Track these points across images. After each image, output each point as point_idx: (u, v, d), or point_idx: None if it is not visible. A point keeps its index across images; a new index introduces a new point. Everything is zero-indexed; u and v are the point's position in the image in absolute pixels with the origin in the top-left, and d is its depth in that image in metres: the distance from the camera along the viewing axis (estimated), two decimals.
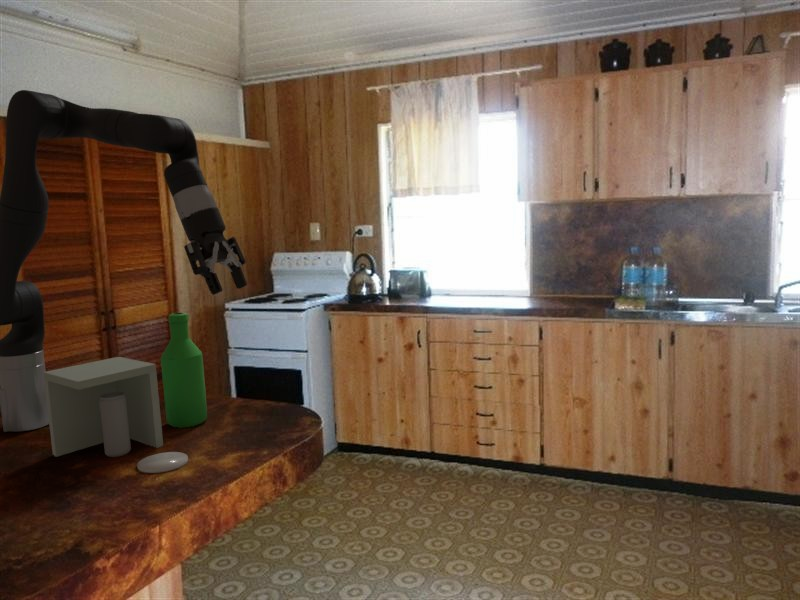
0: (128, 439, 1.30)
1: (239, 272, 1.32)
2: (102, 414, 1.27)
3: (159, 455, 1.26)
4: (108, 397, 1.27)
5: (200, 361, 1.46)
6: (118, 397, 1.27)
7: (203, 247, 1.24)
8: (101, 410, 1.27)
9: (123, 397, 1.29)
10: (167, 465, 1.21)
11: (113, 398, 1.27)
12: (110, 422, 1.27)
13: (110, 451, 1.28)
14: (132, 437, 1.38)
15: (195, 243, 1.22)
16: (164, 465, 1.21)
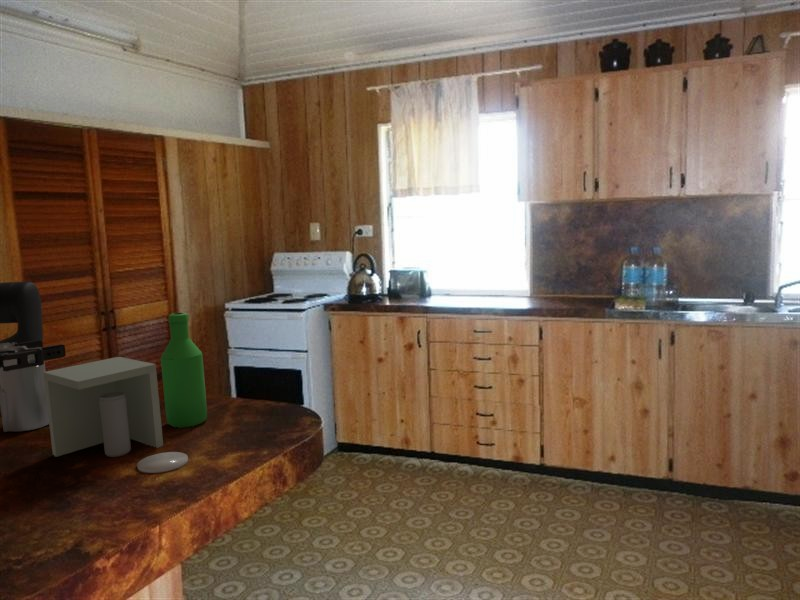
0: (128, 439, 1.30)
1: None
2: (102, 414, 1.27)
3: (159, 455, 1.26)
4: (108, 397, 1.27)
5: (200, 361, 1.46)
6: (118, 397, 1.27)
7: None
8: (101, 410, 1.27)
9: (123, 397, 1.29)
10: (167, 465, 1.21)
11: (113, 398, 1.27)
12: (110, 422, 1.27)
13: (110, 451, 1.28)
14: (132, 437, 1.38)
15: None
16: (164, 465, 1.21)
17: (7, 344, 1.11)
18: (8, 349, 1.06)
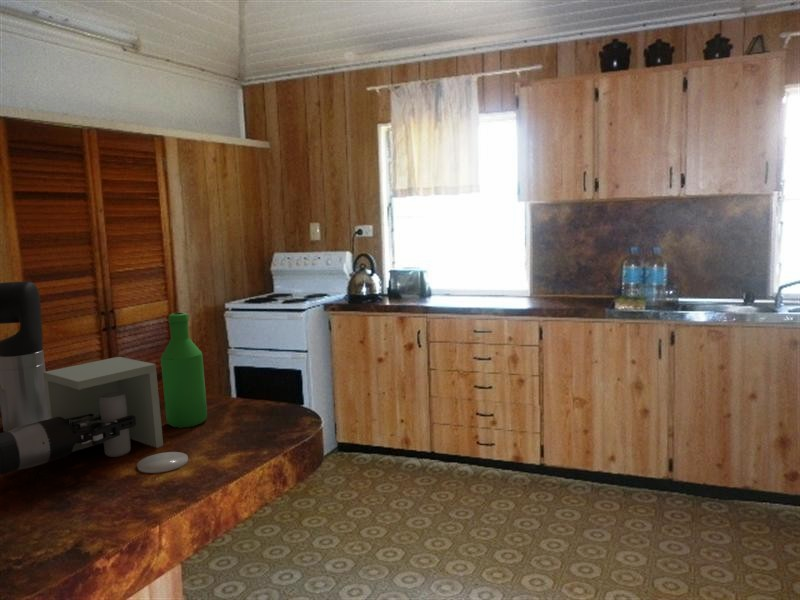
0: (128, 439, 1.30)
1: None
2: (102, 414, 1.27)
3: (159, 455, 1.26)
4: (108, 397, 1.27)
5: (200, 361, 1.46)
6: (118, 397, 1.27)
7: None
8: (101, 410, 1.27)
9: (123, 397, 1.29)
10: (167, 465, 1.21)
11: (113, 398, 1.27)
12: None
13: (110, 451, 1.28)
14: (132, 437, 1.38)
15: None
16: (164, 465, 1.21)
17: (89, 418, 1.27)
18: (90, 424, 1.23)
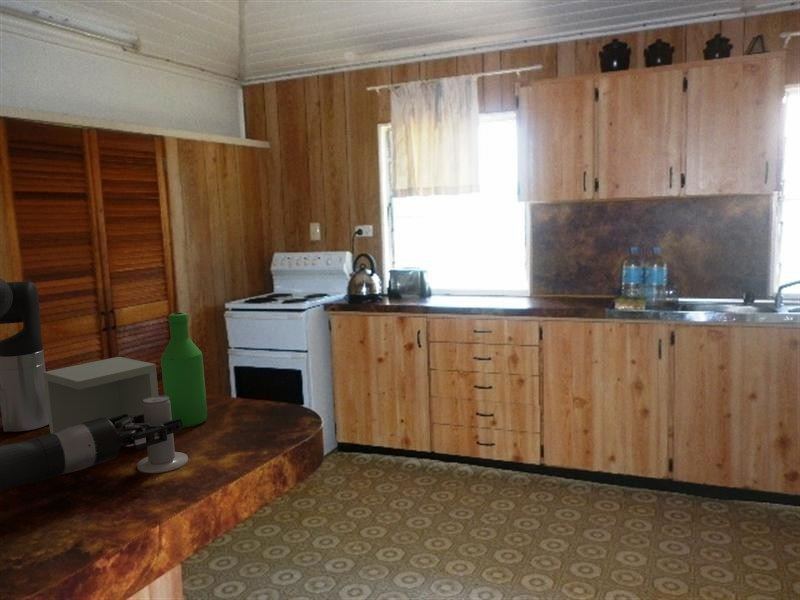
0: (173, 446, 1.23)
1: None
2: (146, 419, 1.20)
3: None
4: (152, 401, 1.20)
5: (200, 361, 1.46)
6: (163, 401, 1.21)
7: None
8: (145, 415, 1.20)
9: (168, 401, 1.22)
10: (167, 465, 1.21)
11: (158, 402, 1.20)
12: None
13: (154, 458, 1.21)
14: None
15: None
16: (164, 465, 1.21)
17: (129, 418, 1.21)
18: (135, 426, 1.16)
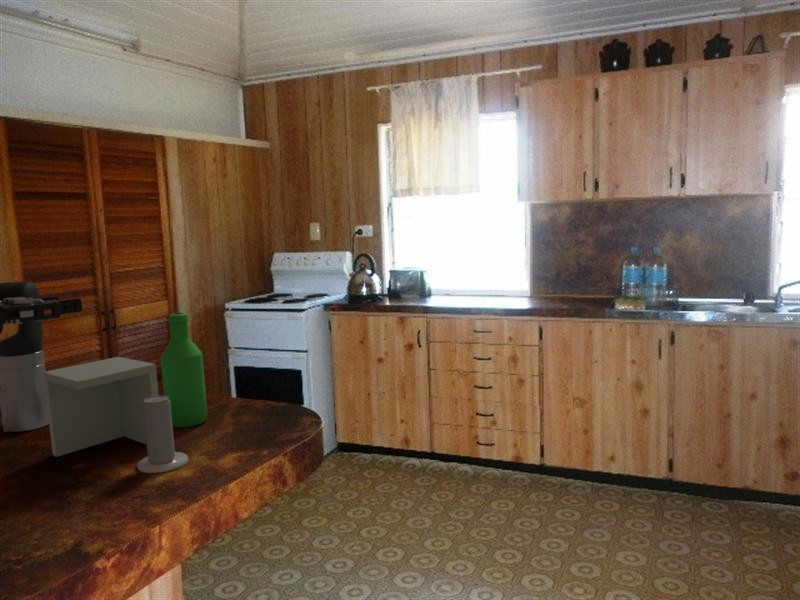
0: (173, 446, 1.23)
1: None
2: (146, 419, 1.20)
3: None
4: (153, 401, 1.20)
5: (200, 361, 1.46)
6: (163, 401, 1.21)
7: None
8: (145, 415, 1.20)
9: (168, 401, 1.22)
10: (167, 465, 1.21)
11: (158, 403, 1.20)
12: (155, 428, 1.20)
13: (154, 458, 1.21)
14: (132, 437, 1.38)
15: None
16: (164, 465, 1.21)
17: (23, 298, 1.09)
18: (24, 301, 1.04)
